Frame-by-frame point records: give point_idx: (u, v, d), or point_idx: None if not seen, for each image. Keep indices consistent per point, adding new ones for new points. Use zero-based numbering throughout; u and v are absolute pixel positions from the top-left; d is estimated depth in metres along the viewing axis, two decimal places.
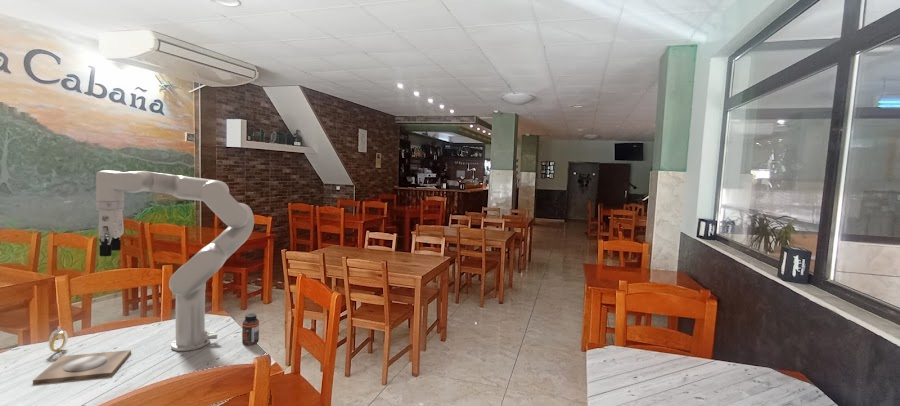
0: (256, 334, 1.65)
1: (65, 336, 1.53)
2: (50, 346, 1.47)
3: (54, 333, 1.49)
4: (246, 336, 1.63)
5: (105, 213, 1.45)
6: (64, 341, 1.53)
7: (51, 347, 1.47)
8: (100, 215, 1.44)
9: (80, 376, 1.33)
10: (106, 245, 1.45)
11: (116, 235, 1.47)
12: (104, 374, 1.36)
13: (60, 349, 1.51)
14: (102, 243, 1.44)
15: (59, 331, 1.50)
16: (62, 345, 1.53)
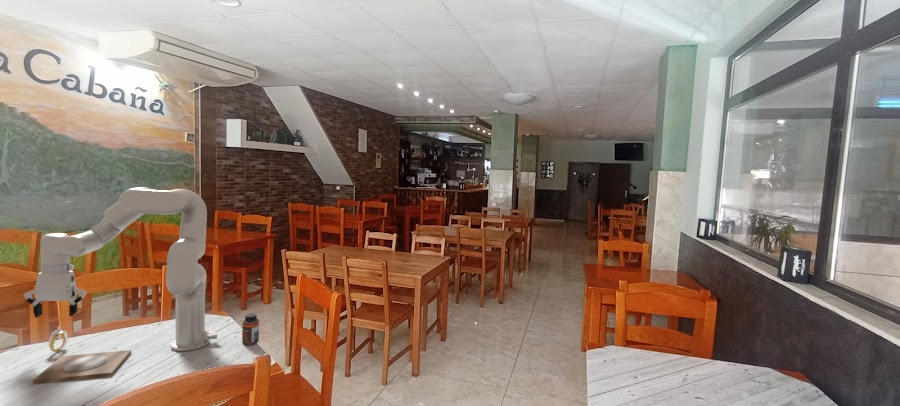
0: (256, 334, 1.65)
1: (65, 336, 1.53)
2: (50, 346, 1.47)
3: (54, 333, 1.49)
4: (246, 336, 1.63)
5: (71, 274, 1.50)
6: (64, 341, 1.53)
7: (51, 347, 1.47)
8: (68, 277, 1.49)
9: (80, 376, 1.33)
10: None
11: None
12: (104, 374, 1.36)
13: (60, 349, 1.51)
14: None
15: (59, 331, 1.50)
16: (62, 345, 1.53)
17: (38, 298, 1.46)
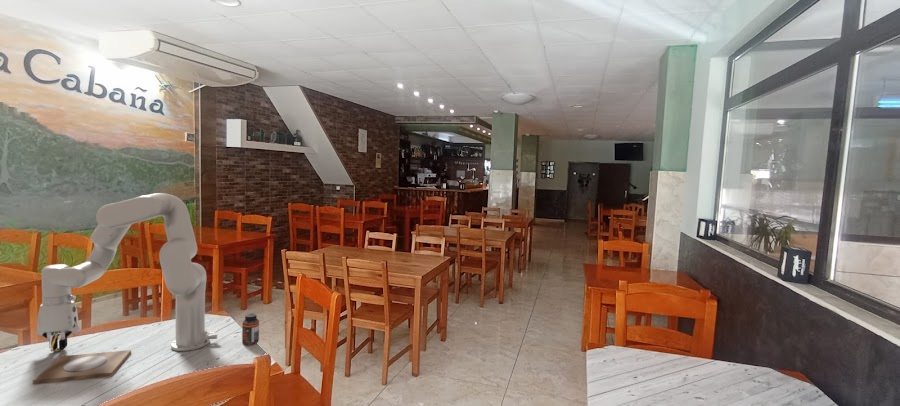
0: (256, 334, 1.65)
1: None
2: (51, 346, 1.47)
3: (54, 333, 1.49)
4: (246, 336, 1.63)
5: (72, 305, 1.51)
6: None
7: (52, 347, 1.48)
8: (70, 308, 1.50)
9: (80, 376, 1.33)
10: None
11: None
12: (104, 374, 1.36)
13: None
14: (67, 336, 1.51)
15: None
16: None
17: (40, 330, 1.47)
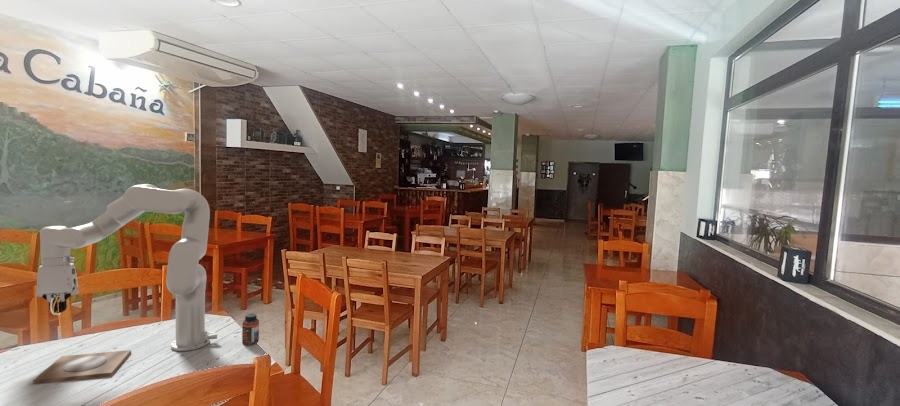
0: (256, 334, 1.65)
1: None
2: (52, 308, 1.46)
3: (55, 296, 1.48)
4: (246, 336, 1.63)
5: (72, 266, 1.50)
6: None
7: (53, 309, 1.47)
8: (69, 270, 1.48)
9: (80, 376, 1.33)
10: None
11: None
12: (104, 374, 1.36)
13: None
14: (67, 298, 1.50)
15: (59, 294, 1.49)
16: None
17: (40, 291, 1.46)
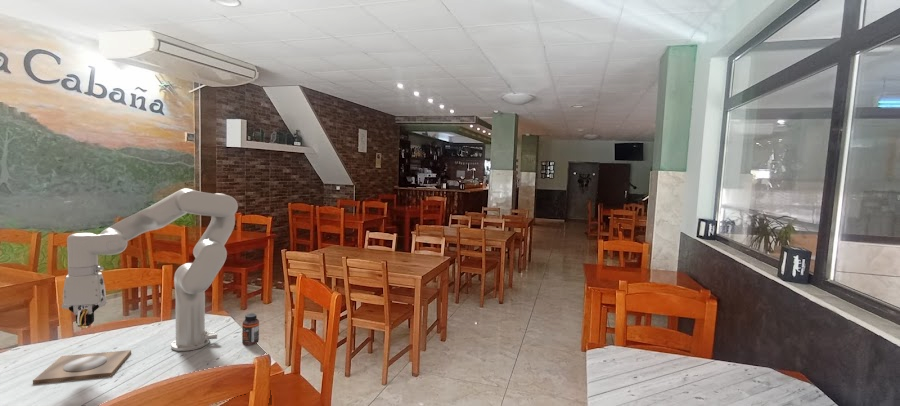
0: (256, 334, 1.65)
1: None
2: (79, 321, 1.36)
3: (82, 308, 1.38)
4: (246, 336, 1.63)
5: (100, 276, 1.40)
6: None
7: (80, 323, 1.36)
8: (97, 280, 1.38)
9: (80, 376, 1.33)
10: None
11: None
12: (104, 374, 1.36)
13: (87, 326, 1.40)
14: (94, 310, 1.40)
15: (86, 306, 1.39)
16: None
17: (66, 303, 1.36)
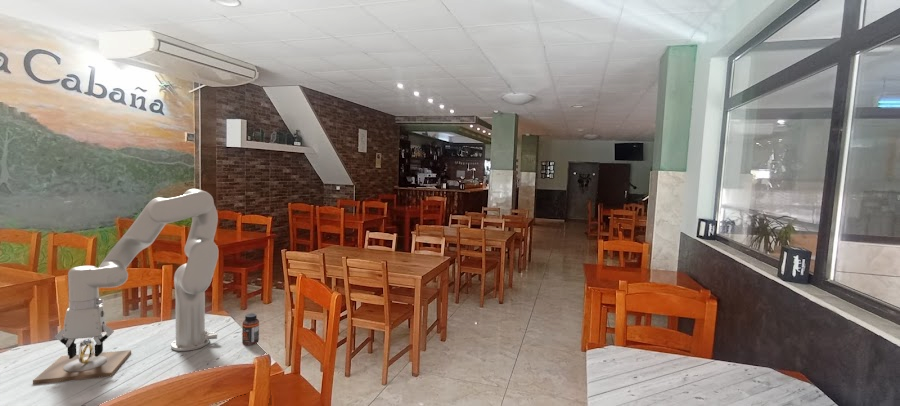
0: (256, 334, 1.65)
1: (92, 346, 1.43)
2: (80, 358, 1.37)
3: (83, 344, 1.39)
4: (246, 336, 1.63)
5: (101, 309, 1.41)
6: (91, 352, 1.43)
7: (81, 359, 1.37)
8: (98, 313, 1.39)
9: (80, 376, 1.33)
10: (101, 342, 1.42)
11: None
12: (104, 374, 1.36)
13: (88, 360, 1.41)
14: None
15: (88, 341, 1.40)
16: (89, 356, 1.42)
17: (67, 336, 1.37)
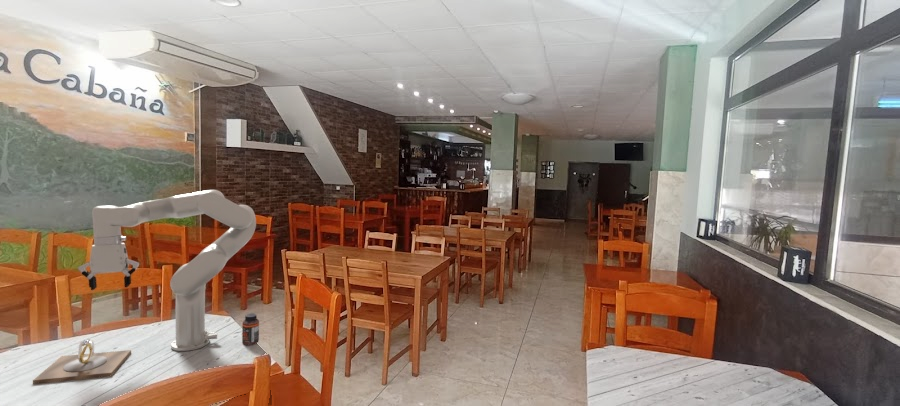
0: (256, 334, 1.65)
1: (92, 346, 1.43)
2: (80, 358, 1.37)
3: (83, 344, 1.38)
4: (246, 336, 1.63)
5: (123, 246, 1.50)
6: (91, 352, 1.43)
7: (81, 359, 1.37)
8: (122, 249, 1.49)
9: (80, 376, 1.33)
10: (130, 275, 1.53)
11: None
12: (104, 374, 1.36)
13: (88, 360, 1.41)
14: None
15: (88, 341, 1.40)
16: (89, 356, 1.42)
17: (93, 270, 1.46)
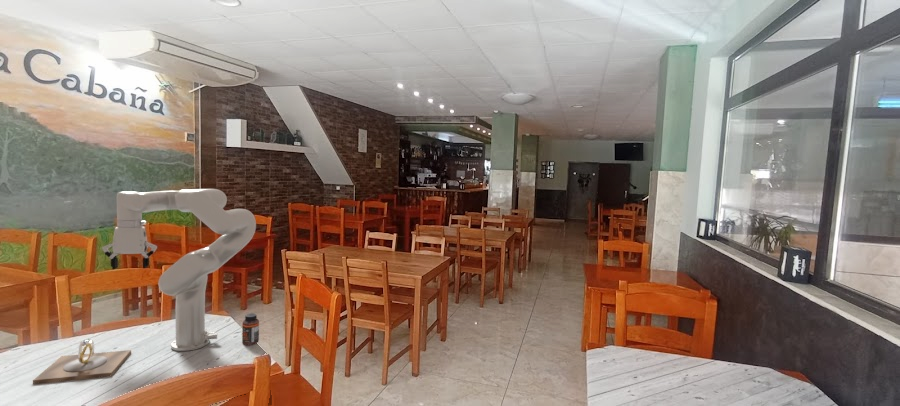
0: (256, 334, 1.65)
1: (92, 346, 1.43)
2: (80, 358, 1.37)
3: (83, 344, 1.38)
4: (246, 336, 1.63)
5: (143, 229, 1.61)
6: (91, 352, 1.43)
7: (81, 359, 1.37)
8: (142, 232, 1.60)
9: (80, 376, 1.33)
10: (148, 257, 1.63)
11: None
12: (104, 374, 1.36)
13: (88, 360, 1.41)
14: (150, 255, 1.62)
15: (88, 341, 1.40)
16: (89, 356, 1.42)
17: (115, 251, 1.57)
